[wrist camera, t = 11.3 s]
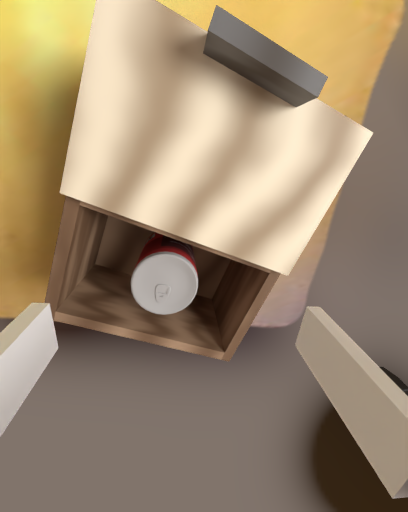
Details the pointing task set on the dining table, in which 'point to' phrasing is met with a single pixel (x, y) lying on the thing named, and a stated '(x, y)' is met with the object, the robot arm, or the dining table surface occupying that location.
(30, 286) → the dining table surface
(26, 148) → the dining table surface
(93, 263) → the housing
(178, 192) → the lid
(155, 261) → the canned food
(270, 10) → the dining table surface
